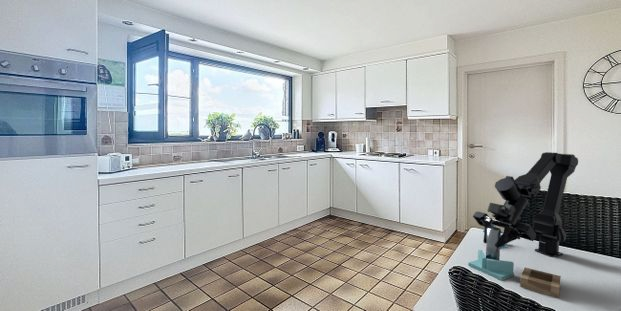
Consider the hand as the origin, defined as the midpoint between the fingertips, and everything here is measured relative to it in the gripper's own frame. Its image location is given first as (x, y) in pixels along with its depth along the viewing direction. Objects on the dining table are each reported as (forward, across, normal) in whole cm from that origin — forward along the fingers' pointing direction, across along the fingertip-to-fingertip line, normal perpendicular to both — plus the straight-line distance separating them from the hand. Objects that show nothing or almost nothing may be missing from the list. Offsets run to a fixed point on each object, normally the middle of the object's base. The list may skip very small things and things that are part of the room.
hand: (490, 244), depth 99 cm
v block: (+6, 0, +7) cm, 9 cm away
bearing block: (+3, +13, +10) cm, 17 cm away
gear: (-11, -14, +24) cm, 30 cm away
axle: (+4, 0, +6) cm, 7 cm away
